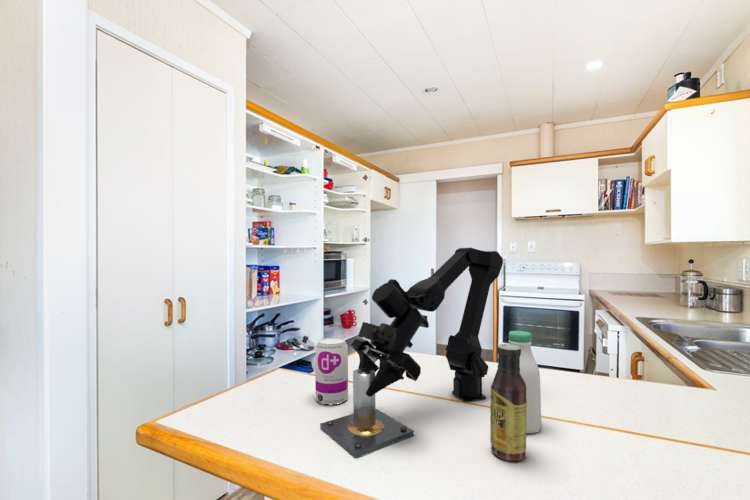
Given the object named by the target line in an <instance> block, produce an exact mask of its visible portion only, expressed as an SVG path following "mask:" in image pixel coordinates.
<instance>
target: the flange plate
mask: <svg viewBox="0 0 750 500" xmlns="http://www.w3.org/2000/svg"><path fill="white" fill-rule="evenodd" d="M319 428H320V429H321V430H322V432H324V433H325V434H327V435H328V437H330V438H331V439H332V440H333V441H335V442H336V443H337V444H338V445H340V447H341V448H342V449H344V451H345V450H346V452H347V453H348V454H350V455H351V456H352V457H353V458H355V459H357V458H361V457H362V456H365V455H367V454H370V453H372V452H373V453H374V452H375V451H378V450H380V449H383V448H386V447H388V446H390V445H393V444H396V443H398V442H399V443H400V442H402V441H403V440H406V439H409V438H412V437H414V436H415V430H413V429H412V428H410V427H408V426H407V425H405V424H404V423H401V422H400V421H398V420H397V419H395V418H394V417H391V416H390V415H388V414H387V413H385V412H383V411H381V410H380V409H377V408H376V424H375V425H374V426H372V427H370V428H359V427H356V426H355V425H354V424H353V413H351V414H348V415H344V416H341V417H337V418H334V419H331V420H327V421H324V422H321V423H320V426H319ZM413 435H414V436H413ZM411 436H412V437H411Z"/></svg>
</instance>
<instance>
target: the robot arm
mask: <svg viewBox="0 0 750 500" xmlns="http://www.w3.org/2000/svg"><path fill="white" fill-rule="evenodd" d="M503 264H504V259H503V257H502V255H501V254H500V253H499V252H498V251H496V250H491V251H490V250H489V251H488V250H487V251H486V250H480V249H477V248H473V247H459V248H457V249H456V250H455V251H454V254H453V255H451V256H450V257H449V258H448V259H447V260H446V261H445V262H444V263H443V264H442V265H441V266H440V267H439V268H438V269H437V270H436V271H435V272H434V273H433V274H432V275H431V276H430V277H427V278H424V279H422V280H419V281H418V282H417V283H415V284H413V285H411V286H410V287H409V288H408V290H406V291H405V290H404V288H403V287H401V285H400V282H399V281H397V279H394V278H393V279H392V278H391V279H389V280H388V281H387V282H385V283H383V284H382V285H380V286H379V287H378V288H376V289H375V290H374V291H373V293H372V295H371V300H372V301H373V302H374V304H375V305H376V306H377V307H378V308H379V309H380V310H381V311H382V312H383V313H384V315H385V316H386V317H388V319H389V318H390V319H393V320H392V322H390V324H387V323H385V322H382V323H381V324H379V326H378V325H375V324H373V323H368V322H365V321H363V322H362V323H361V325H360V329H359V332H358V335H357V336H358V337H356V338H355V339H354V340H353V341H352V343H351V344H350V347H351V348H352V349H353V350H354V351H355V352H356V353H357V355H358V358H359V364H358V368H357V369H364V368H366V369H372V370H374V371H375V377H374V379H373V381H372V382H371V384H370V386H369V388H368V390H367V392H366V395H367V396H369V397H370V396H372V395H374V394H375V395H376V394H377V393H379V392H380V391H382V390H384V389H386V388H387V387H388V386H390V385H393V384H394V383H396V382H398V381H400V380H402V381H403V380H404V378H405V377H406V378H408V379H409V380H413V381H415V382H417V380H418V379H419V377H420V375H421V374H422V373H421V371H422V370H421V369H422V368H421V366H420V364H419V363H418V362H417V361H416V360H415V359H414V358H413V357H412V356H411V355H410V354H409V353H407V352H404V351H406V348H409V349H411V348H412V347H413V345H414V344H413V343H412V339H413V338H414V336H415V335H416V333H417V331H418V330H419V328H420V327H422V328H425V329H428V328H429V327H430V324H429V320H428V315H423V314H422V313H421V312H420V311H424V312H429V313H430V312H435V311H436V310H438V308H439V307H440V305H441V304H442V302H443V301H444V299H445V295H446V292H447V290H448V288H449V287H451V285H453V283H454V282H455V281H456V280H457V279H458V278H459V277H460V276H461V275H462V273H464V272H465V271H466V270H467V269H468V272H469V275H470V278H471V282H470V286H469V289H468V294H467V298H466V302H465V307H464V310H463V314H462V318H461V323H460V326H459V330H458V331H457V333H456V334H455V335H452V334H451V335H449V337H448V338H447V339H448V341H447V345H446V348H445V358H446V360H447V363H448V367H449V370H451V371H454V377H453V383H452V384H453V390H451V394H453V395H454V396H455V397H457V398H458V399H460V400H461V401H463V402H465V403H466V402H472V401H473V402H474V401H479V400H485V399H487V396H486V395H484V394H483V378H485V376H487V375H488V371H489V365H488V364H487V363H486V361H485V359H483V357H482V350H483V349H482V345H481V342H480V339H479V335H480V330H481V325H482V321H483V318H484V313H485V309H486V304H487V301H488V296H489V291H490V288H491V285H492V283H494V281H495V280H496V279H497V278H498V277H499V276H500V273H501V270H502V269H503ZM364 338H365V339H364ZM377 361H379V364H378V365H377V364H376V362H377ZM404 374H405V377H404V376H403V375H404Z"/></svg>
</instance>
